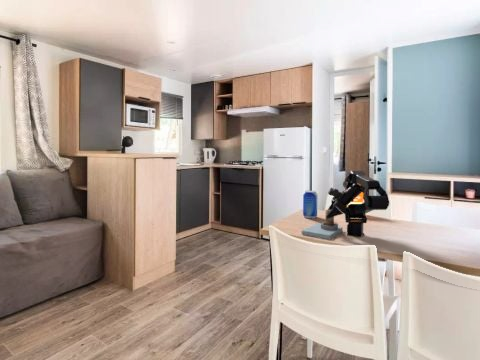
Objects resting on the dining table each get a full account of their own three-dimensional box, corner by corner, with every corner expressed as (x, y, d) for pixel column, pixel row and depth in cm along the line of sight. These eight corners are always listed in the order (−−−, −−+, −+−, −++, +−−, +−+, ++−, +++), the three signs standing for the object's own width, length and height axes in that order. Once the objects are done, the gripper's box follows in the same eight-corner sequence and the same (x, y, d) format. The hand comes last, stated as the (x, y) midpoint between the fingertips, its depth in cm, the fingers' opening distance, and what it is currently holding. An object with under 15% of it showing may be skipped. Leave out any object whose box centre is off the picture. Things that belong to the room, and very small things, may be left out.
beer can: (301, 217, 182) (301, 191, 181) (305, 215, 190) (305, 190, 188) (315, 219, 179) (315, 192, 177) (318, 216, 186) (319, 190, 184)
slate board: (342, 231, 152) (342, 223, 152) (329, 239, 139) (329, 231, 138) (316, 227, 161) (316, 219, 160) (301, 234, 147) (301, 226, 147)
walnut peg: (334, 227, 151) (335, 210, 150) (331, 229, 148) (332, 211, 147) (327, 226, 154) (327, 209, 153) (324, 228, 151) (324, 210, 150)
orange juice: (362, 216, 186) (363, 183, 184) (347, 215, 188) (348, 183, 186) (360, 213, 193) (361, 182, 191) (345, 213, 195) (346, 182, 193)
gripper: (336, 180, 157) (314, 200, 160) (340, 184, 139) (315, 207, 142) (352, 195, 156) (329, 216, 159) (358, 202, 138) (332, 224, 141)
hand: (326, 215), depth 151 cm, fingers open, 9 cm apart
